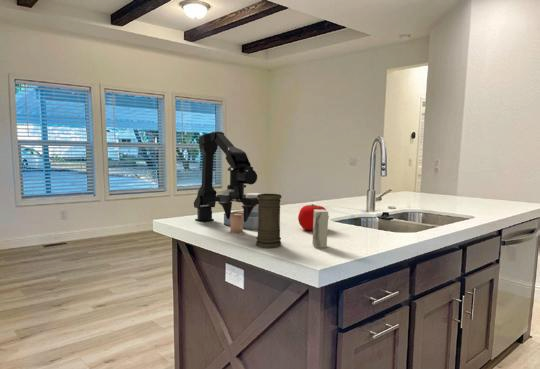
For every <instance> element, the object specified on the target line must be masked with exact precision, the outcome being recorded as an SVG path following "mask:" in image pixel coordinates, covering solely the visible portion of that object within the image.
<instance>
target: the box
mask: <svg viewBox="0 0 540 369" xmlns="http://www.w3.org/2000/svg"><path fill="white" fill-rule="evenodd" d="M326 210H327V209H326ZM326 210H318V209H314V218H313V231H312V243H311V244H312V246H313V247H314V248H315V249H316V248H317V249H326V248H327V246H328V245H327V244H328V228H329V225H328V224H329V218H328V216H329V211H328V210H327V211H326Z"/></svg>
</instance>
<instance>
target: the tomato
mask: <svg viewBox="0 0 540 369" xmlns="http://www.w3.org/2000/svg"><path fill="white" fill-rule="evenodd" d="M300 208H301V209H300V210H299V211H298V212H299V213H298V217H297V221H298V223H299V226H301V228H302V229H304V230H307V231H312V232H313V218H314V209H318V210H326V211H327V212H328V210H327V209H326V208H325V207H324V206H321V205H317V204H312V203H311V204H307V205H304V206H302V207H300ZM329 218H330V217H329V215H328V219H329Z"/></svg>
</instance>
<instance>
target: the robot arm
mask: <svg viewBox="0 0 540 369" xmlns="http://www.w3.org/2000/svg"><path fill="white" fill-rule="evenodd" d="M198 146H199V147H198V149H199V150H200V152H201V154H202V160H201V161H202V162H201V163H202V166H201V185H200V187H199V188H198V191H197V195H196V198H195V199H194V202H193V207H194V209H197V211H196V212H197V213H196V214H197V216H196V218H195V219H194V220H195V221H197V222H202V223H206V222H211V221H214V220H215V219H214V218H213V211H212V208H216V203H218V204H219V205H220V206H222V209H223V211H224V213H225V214H226V217H227V219H230V214H231V212H232V205H233V202H237V203H242V205H241V208H242V210H244V222H246V221H247V219H248V217H249V215H250V213H251V211H252V210H253V208H254V206H256V205H258V204H259V202H258V198H257V197H246V194H245V188H247V185H250V186H251V185H254V184H255V183H256V182H257V181H258V174H257V172H256V171H255V170H254V167H253V166H252V165H251V164H252V163H251V162H250V161H249V157H248V155H247V153H246V152H245V151H244V150H242V149H240V148H238V147H236V146H235V145H234V144H233V143H232V142H231V141H230V140H229V139H228V137H227V136H226V135H225V133H224V132H223V131H215V130H214V131H212V132H210V133H205V134H201V135H200V137H199V138H198ZM218 147H219V148H220V150H221V151H222V152H223V153H224V155H225V160H226V162H227V163H228V165H229V167H228V168H227V171H228V172H229V184H228V185H227V187H226V189H225V190H223V191H221V192H220V193H218V194H217V190H216V189H215V188H214V187H213V184H214V183H213V180H214V178H213V176H214V156H215V153H216V152H217V151H218Z"/></svg>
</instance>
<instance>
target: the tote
mask: <svg viewBox="0 0 540 369" xmlns="http://www.w3.org/2000/svg"><path fill="white" fill-rule="evenodd" d="M241 210H242V211H244V209H241ZM231 214H234V211H231ZM231 214H230V219H227V217H226V214H225V212H224V213H223V225H224V226H229V227H231ZM243 229H245V230H253V231H255V230H258V212H254V211H251V213H250V215H249V217H248V219H247V221H246V222H244V216H243Z"/></svg>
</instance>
